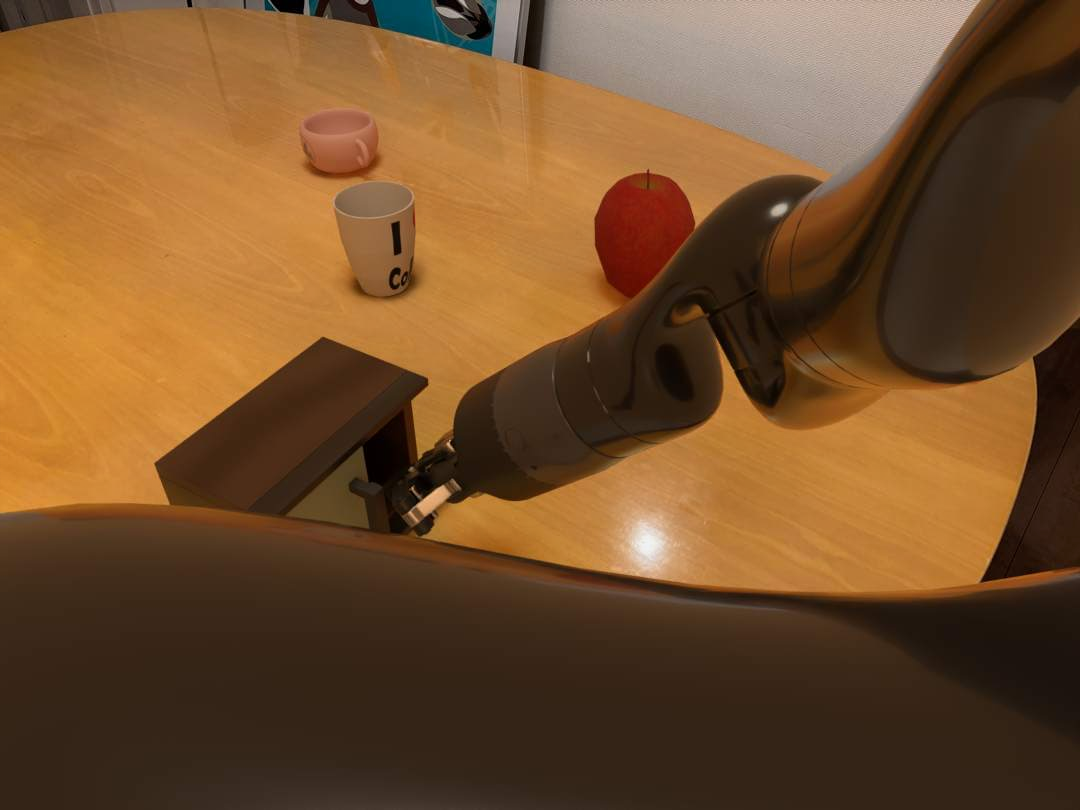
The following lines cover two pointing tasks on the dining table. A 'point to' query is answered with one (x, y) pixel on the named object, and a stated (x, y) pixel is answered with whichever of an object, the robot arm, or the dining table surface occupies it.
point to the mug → (339, 139)
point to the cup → (378, 234)
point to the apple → (640, 229)
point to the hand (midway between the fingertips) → (397, 491)
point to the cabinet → (300, 434)
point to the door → (347, 498)
